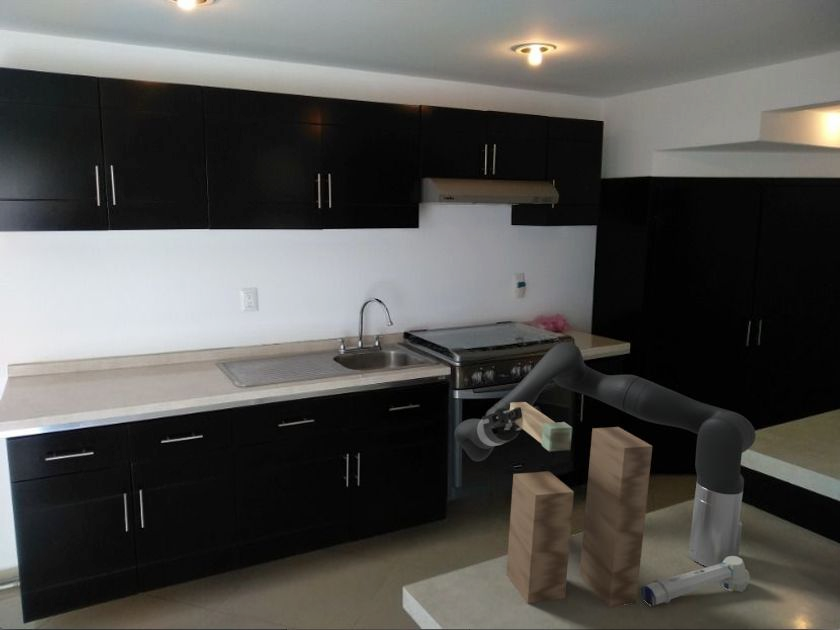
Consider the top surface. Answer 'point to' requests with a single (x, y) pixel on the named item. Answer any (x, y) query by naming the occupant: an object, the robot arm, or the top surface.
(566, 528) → the low walnut block
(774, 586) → the top surface
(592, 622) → the top surface
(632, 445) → the walnut post
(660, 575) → the top surface
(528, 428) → the oak rail
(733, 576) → the white tube with head
